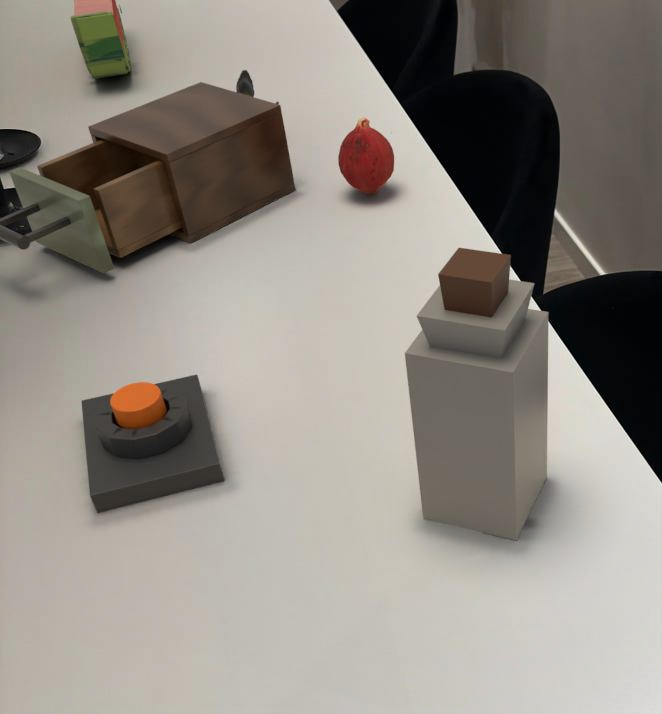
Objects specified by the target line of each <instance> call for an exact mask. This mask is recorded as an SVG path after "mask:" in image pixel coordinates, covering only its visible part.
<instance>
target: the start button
mask: <svg viewBox="0 0 662 714" xmlns="http://www.w3.org/2000/svg"><path fill="white" fill-rule="evenodd" d="M154 384H155V383H152V382H147V381H145V382H144V381H141V382H139V381H138V382H132V383H130V384H127V385H124V386H122V387H120V388H118V389H117V390H116V391H115V392H113V393H114V394H113V393H112V394H113V395H112V397H111V399H110V405H111V407H112V410H113V413H114V415H115V418H116V421H117V423H118V424H119V426H121V427H122V428H126V429H139V428H144V427H148V426H151V425H153V424H155V423H157V422H158V421H160V420H162V419H163V418H164V417H165V415H166V411H167V409H166V406H165V403H164V400H163V397H162V394H161V391H160V389H159V388H158V387H157V386H156V385H154Z"/></svg>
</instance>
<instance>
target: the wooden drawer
mask: <svg viewBox="0 0 662 714" xmlns="http://www.w3.org/2000/svg"><path fill="white" fill-rule="evenodd" d="M36 169H37V171H38V173H35V172H32V171H30V170H27V169H25V168H23V167H20V166H19V167H17V168H14V169H12V170H9V176H10V178H11V180H12V182H13V186H14V188H15V191H16V193H17V196H18V198H19V201H20V204H21V206H22V208H21V209H19V210H16V211H15V212H11V213H10V214H7V215H5V216H3V217H0V241H3V242H5V243H7V244H10V245H11V246H14V247H16V248H18V249H19V250H27V249H28V248H29V247H30V245H31V243H33V242H34V241H35V242H36V243H37V244H40V245H42V246H44V247H46V248H48V249H50V250H53V251H55V252H57V253H59V254H61V255H63V256H65V257H67V258H70V259H72V260H74V261H76V262H78V263H81V264H83V265H85V266H87V267H89V268H92V269H93V270H96V271H98V272H100V273H102V274H106V273H108V272H111V271H113V270H114V269H115V267H114V265H113V261H112V257H111V255H113V256H115V257H117V258H120V259H121V258H123V257H126V256H128V255H129V254H132V253H133V252H136V251H138V250H140V249H143V248H144V247H146V246H148V245H150V244H152V243H154V242H156V241H158V240H160V239H162V238H164V237H166V236H168V235H170V233H172V232H174V231H176V230H178V229H180V228H182V225H181V221H180V218H179V214H178V210H177V207H176V203H175V199H174V196H173V192H172V188H171V184H170V181H169V177H168V173H167V170H166V166H165V162H164V161H163V160H161V159H158V158H155V157H152V156H150V155H147V154H144V153H141V152H138V151H136V150H133V149H130V148H127V147H124V146H122V145H119V144H116V143H113V142H111V141H108V140H105V139H102V140H99V141H97V142H94V143H93V142H92V143H90V144H87V145H85V146H82V147H80V148H77V149H75V150H72V151H70V152H68V153H65V154H62V155H60V156H58V157H55V158H52V159H49V160H48V161H46V162H43V163H40V164H38V165H36ZM25 218H26V220H27V222H28V223H29V227H30V229H31V232H30V231H29V232H28V233H25V234H24V235H23V234H21V233H19V232H17V231H15V230H13V229H11V228H8V227H6V226H9V225H11V224H13V223H15V222H17V221H19V220H22V219H25Z"/></svg>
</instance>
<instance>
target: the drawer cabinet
mask: <svg viewBox="0 0 662 714" xmlns="http://www.w3.org/2000/svg"><path fill="white" fill-rule="evenodd" d="M275 103H276V102H271V101H268V100H264V99H261V98H257V97H255V96H254V97H251V96H248V95H244V94H241V93H237V91H233V90H231V89H227V88H224V87H220V86H216V85H212V84H209V83H206V82H203V81H200V82H197V83H195V84H192V85H190V86H187V87H184V88H182V89H180V90H177V91H175V92H172V93H170V94H167V95H164V96H162V97H158V98H157V99H154V100H152V101H149V102H147V103H144V104H142V105H139V106H137V107H134V108H132V109H129V110H126V111H124V112H121V113H119V114H116V115H114V116H111V117H109V118H106V119H104V120H100V121H99V122H96V123H94V124H91V125H89V126H87V128H88V131H89V135H90V137H91V141H92V143H94V142H97V141H99V140H102V139H105V140H108V141H111V142H113V143H116V144H119V145H122V146H124V147H127V148H130V149H133V150H136V151H138V152H141V153H144V154H147V155H150V156H152V157H155V158H158V159H161V160H163V161H164V162H165V166H166V170H167V173H168V177H169V181H170V184H171V188H172V192H173V196H174V199H175V203H176V207H177V210H178V214H179V218H180V221H181V225H182V228H180V229H178V230H176V231H174V232H172V233H170V234H169V235H170V236H172V237H174V238H177V239H180V240H182V241H184V242H187V243H189V244H192V243H194V242H196V241H198V240H200V239H202V238H204V237H206V236H208V235H211V234H212V233H214V232H216V231H218V230H220V229H222V228H224V227H225V226H228V225H229V224H231V223H233V222H235V221H238V220H239V219H241V218H243V217H245V216H248V215H249V214H251V213H253V212H255V211H257V210H260V209H261V208H263V207H265V206H267V205H269V204H271V203H272V202H273V203H274V202H275V201H277V200H278V199H281V198H282V197H285V196H287V195H288V194H290V193H292V192H294V191H296V190H297V189H296V184H295V178H294V173H293V167H292V162H291V157H290V152H289V144H288V140H287V136H286V135H287V134H286V129H285V123H284V117H283V111H282V106H281V104H280V103H279V104H275Z"/></svg>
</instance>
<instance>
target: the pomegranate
mask: <svg viewBox="0 0 662 714" xmlns="http://www.w3.org/2000/svg"><path fill="white" fill-rule="evenodd" d="M338 152H339V153H338V157H337V158H338V159H337V161H338V163H337V164H338V168H339V171H340V173H341V175H342V176H343V178H344V179H345V181H346V182H347V184H348V185H350V187H352V188H353V189H355V190H358V191H359V192H361V193H364V194H366V195H368V196H372V195H375V194H377V192H378V191H379V190H380V189H381V188H382V187H383V186H384V185H386V183H387V182H388V181H389V180H390V179H391V177H392V176H393V172H394V170H395V155H394V149H393V147H392V145H391V142H390V141H389V140H388V139H387V138H386V137H385V135H383V134H382V133H381V132H379V131H378V130H377V129H375V128H373V127H371V126H370V120H369V119H368V118H367V117H361V118H359V119H358V121H357V123H356V125H355V128H353V129H352V130H351V131H350V132H348V134H346V136H345V137H344V138H343V140H342V142H341V145H340V147H339V151H338Z"/></svg>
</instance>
